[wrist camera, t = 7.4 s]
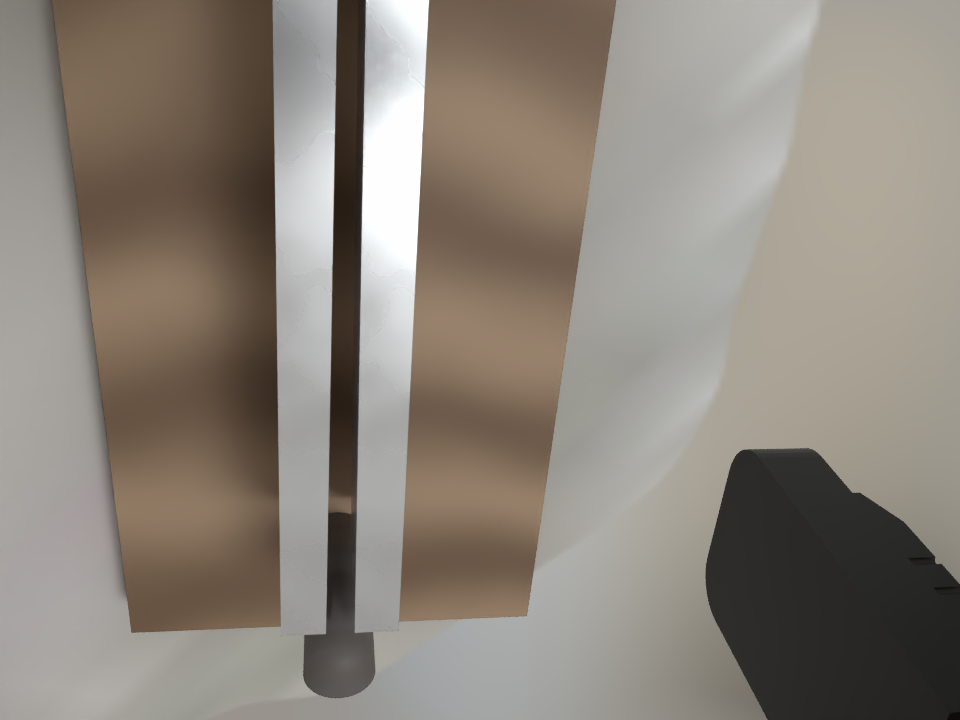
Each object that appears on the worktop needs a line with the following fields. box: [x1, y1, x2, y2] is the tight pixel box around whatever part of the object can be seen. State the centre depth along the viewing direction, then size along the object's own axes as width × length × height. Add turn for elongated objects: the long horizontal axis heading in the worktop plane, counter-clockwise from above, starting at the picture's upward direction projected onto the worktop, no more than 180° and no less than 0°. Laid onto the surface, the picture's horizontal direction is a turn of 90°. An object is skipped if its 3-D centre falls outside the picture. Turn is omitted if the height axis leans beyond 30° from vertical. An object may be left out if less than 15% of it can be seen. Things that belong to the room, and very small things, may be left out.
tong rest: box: [52, 0, 616, 698], centre depth 24 cm, size 30×14×8 cm, turn 175°
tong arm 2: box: [273, 0, 337, 636], centre depth 22 cm, size 20×2×5 cm, turn 175°
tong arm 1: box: [351, 0, 429, 633], centre depth 23 cm, size 20×2×5 cm, turn 176°
